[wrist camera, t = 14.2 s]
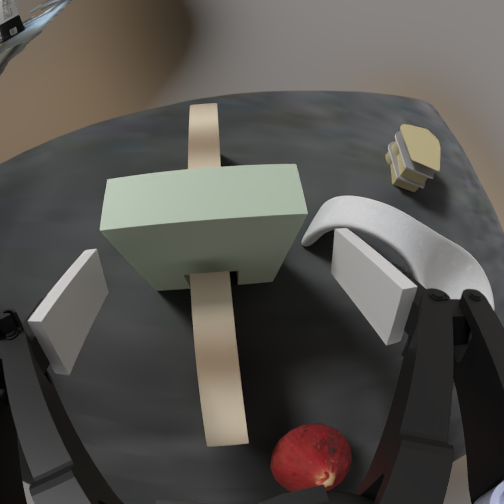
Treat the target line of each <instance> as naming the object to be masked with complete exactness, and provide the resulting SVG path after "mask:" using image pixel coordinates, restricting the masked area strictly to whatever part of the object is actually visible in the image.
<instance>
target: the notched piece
mask: <svg viewBox="0 0 504 504" xmlns="http://www.w3.org/2000/svg"><path fill="white" fill-rule="evenodd" d="M307 214H308V212H307V208H306V203H305V199H304V195H303V190H302V186H301V182H300V178H299V174H298V170H297V166H296V164H269V165H243V166H225V167H210V168H198V169H187V170H177V171H167V172H158V173H150V174H142V175H135V176H128V177H121V178H114V179H108V180H107V185H106V191H105V197H104V203H103V210H102V217H101V224H100V231H101V232H102V234H103V235H104V236H105V237H106V238H107V239H108V240H109V241H110V243H111V244H112V245H113V246H114V247H115V248H116V249H117V250H118V251H119V252H120V253H121V254H122V256H123V257H124V258H125V259H126V260H127V261H128V262H129V263H130V264H131V265H132V266H133V267H134V268H135V269H136V270H137V271H138V272H139V273H140V274H141V275H142V276H143V277H144V278H145V279H146V280H147V281H148V282H149V283H150V284H151V285H152V286H153V287H154V288H155V289H156V290H157V291H163V290H178V289H191V288H190V274H198V273H211V272H223V271H236V272H237V282H238V285H243V284H254V283H265V282H273V280H274V278H275V276H276V275H277V273H278V271H279V269H280V267H281V265H282V263H283V261H284V259H285V257H286V255H287V253H288V252H289V250H290V248H291V246H292V244H293V242H294V240H295V238H296V236H297V234H298V232H299V230H300V228H301V226H302V224H303V222H304V220H305V218H306V216H307Z"/></svg>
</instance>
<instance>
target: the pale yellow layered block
mask: <svg viewBox="0 0 504 504" xmlns="http://www.w3.org/2000/svg"><path fill="white" fill-rule="evenodd" d="M400 129H401V131H399V132H397V133H396V135H395V139H396V141H395V142H391V143H390V144H389V146H388V150H389V151H388V153H387V154H386V161H387V162H388V163H389V165H390V166H391V174H392V184H393V185H395V186H398V187H401V188H404V189H406V190H409V191H412V192H416V190H417V189H418V188H419V187H420V188H424V187H425V181H426V180H427V179H428V178H431V179H433V178H434V169H435V170H437V171H439V170H440V144H439V141H438V139H437V138H436V137H435V136H434V135H433V134H432V133H431V132H430V131H428V130H427V129H424V128H420V127H416V126H412V125H407V124H403V125H401V127H400Z"/></svg>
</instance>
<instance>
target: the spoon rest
mask: <svg viewBox="0 0 504 504" xmlns="http://www.w3.org/2000/svg"><path fill="white" fill-rule="evenodd" d="M340 228H347V229H349V230H354V231H358V232H361V233H364V234H367V235H369V236H372V237H374V238H376V239H378V240H380V241H382V242H384V243H386V244H387V245H388V246H390V247H391V248H393V249H394V250H395V251H396V252H397V253H399V254H400V255H401V257H402V258H403V259H404V260H405V262H406V263H407V265H408V266H409V268H410V270H411V272H412V274H413V277H414V279H415V280H416V281H418V282H419V283H420V284H421V285H422V286H423V287H425V288H426V289H429V288H434V289H439V290H442V291H443V292H445V293H447V294H448V295H449V297H450V299H460V298H461V295H462V292H463V290H465V289H476V290H478V291H480V292H481V293H482V294H483V295H484V296H485V297H486V298H487V300H488V302H489V303H490V305H491V307H492V308H493V310H494V300H493V294H492V290H491V287H490V284H489V281H488V279H487V276H486V274H485V273H484V271H483V269H482V267H481V266H480V265H479V263H478V262H477V261H476V259H475V258H474V257H473V256H472V255H471V254H470V253H468V252H467V251H466V250H465V249H463V248H462V247H460V246H459V245H457V244H455V243H454V242H452V241H450V240H448V239H447V238H445V237H443V236H441V235H440V234H438V233H436V232H435V231H433V230H432V229H430V228H428V227H427V226H425V225H424V224H422V223H420V222H419V221H417V220H415V219H414V218H412V217H411V216H409V215H407V214H406V213H404V212H402V211H400V210H398V209H396V208H394V207H392V206H390V205H387V204H385V203H382V202H379V201H375V200H372V199H368V198H363V197H358V196H338V197H335V198H332V199H330V200H328V201H327V202H325V203H324V204H323V205H322V207H321V208H320V209H319V211H318V213H317V214H316V216H315V217H314V219H313V221H312V223H311V224H310V226H309V228H308V230H307V231H306V233H305V235H304V237H303V239H302V242H301V243H302V245H303V246H310V245H312V244H313V243H315V242H316V241H317V240H318V239H319V238H320V237H321V236H322V235H323V234H325V233H326V232H329V231H332V230H335V229H340Z"/></svg>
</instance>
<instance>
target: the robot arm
mask: <svg viewBox="0 0 504 504" xmlns="http://www.w3.org/2000/svg"><path fill="white" fill-rule="evenodd" d="M331 274H332V275H333V276H334V278H335V279H336V280H337V281H338V283H339V284H340V285H341V287H342V288H343V289H344V290H345V292H346V293H347V294H348V295H349V297H350V298H351V299H352V301H353V302H354V303H355V304H356V306H357V307H358V308H359V310H360V311H361V312H362V314H363V315H364V316H365V318H366V319H367V320H368V322H369V323H370V324H371V326H372V327H373V328H374V330H375V331H376V332H377V334H378V335H379V336H380V338H381V339H382V340H383V342H384V343H385V344H386V346H387V345H390V344H394V343H397V342H400V341H401V339H402V336H403V333H404V330H405V331H406V333H407V334H408V335H409V337H408V340H407V343H406V345H405V348H404V351H403V353H402V356H404V358H403V363H402V367H401V372H400V376H399V380H398V384H397V388H396V392H395V395H394V399H393V402H392V406H391V409H390V413H389V416H388V419H387V422H386V425H385V428H384V431H383V434H382V437H381V440H380V443H379V445H378V448H377V451H376V453H375V456H374V459H373V461H372V464H371V466H370V468H369V471H368V473H367V475H366V477H365V478H364V480H363V482H362V483H361V485H360V487H359V488H358V490H357V492H356V494H352V493H348V492H340V491H326V490H325V487H324V484H323V485H319V486H315V487H311V488H307V489H302V490H298V491H293V492H288V493H283V494H280V495H278V496H275V497H273V498H270V499H268V500H265V501H262V502H259V503H256V504H443V501H444V498H445V494H446V490H447V486H448V482H449V478H450V473H451V468H452V463H453V457H454V448H453V445H448V443H447V437H448V430H449V422H450V414H451V403H452V390H453V377H454V381H455V386H456V390H457V395H458V400H459V405H460V411H461V417H462V423H463V430H464V437H465V446H466V456H467V470H468V483H469V492H470V497H471V503H472V504H504V328H503V326H502V324H501V322H500V321H499V319H498V317H497V315H496V313H495V312H494V310H493V308H492V307H491V305H490V303H489V302H488V300H487V298H486V297H485V296H484V295H483V294H482V293H481V292H480V291H478V290H476V289H465V290H463V292H462V295H461V298H460V299H450V297H449V295H448V294H447V293H445V292H443V291H442V290H439V289H434V288H429V289H426V288H425V287H423V286H422V285H421V284H420V283H419V282H418V281H416V280H415V279H414V278H412V276H411V275H409V274H408V273H407V272H406V271H405V270H403V269H402V268H401V267H399V266H397V265H395V264H393V263H390V262H388V261H387V260H386V259H385V258H384V257H382V256H381V255H380V254H379V253H378V252H376V251H375V250H374V249H373V248H371V247H370V246H369V245H368V244H366V243H365V242H364V241H363V240H361V239H360V238H359V237H358V236H356V235H355V234H354V233H353V232H351V231H350V230H349V229H347V228H340V229H335V231H334V244H333V255H332V266H331ZM108 293H109V292H108V289H107V285H106V282H105V278H104V275H103V271H102V267H101V263H100V260H99V256H98V251H97V249H92V250H85V251H84V252H83V253H82V254H81V256H80V257H79V258H78V259H77V260H76V261H75V262H74V263H73V265H72V266H71V267H70V268H69V269H68V270H67V272H66V273H65V274H64V275H63V276H62V277H61V279H60V280H59V281H58V282H57V284H56V285H55V286H54V287H53V288H52V290H51V291H50V292H49V293H48V295H46V296H45V297H44V298H42V299H41V300H40V301H39V303H38V304H37V305H36V307H35V308H34V309H33V311H32V312H31V313H30V315H29V316H28V317H27V319H26V320H25V321H24V323H23V324H22V323H21V321H20V319H19V317H18V315H17V313H16V311H15V309H12V308H11V309H6V310H3V311H1V312H0V504H27V502H26V497H25V493H24V488H23V482H22V476H21V470H20V462H19V454H18V443H17V433H18V437H19V440H20V443H21V446H22V449H23V452H24V455H25V458H26V460H27V463H28V466H29V468H30V471H31V473H32V476H33V478H34V481H35V483H34V484H32V485H30V489H29V490H30V493H31V496H32V498H33V501H34V502H35V504H124V503H123V502H121V500H120V499H119V498H118V497H117V496H116V494H115V493H114V492H113V490H112V489H111V488H110V486H109V485H108V483H107V482H106V481H105V479H104V478H103V476H102V475H101V473H100V472H99V470H98V469H97V467H96V466H95V464H94V462H93V461H92V459H91V458H90V456H89V454H88V453H87V451H86V449H85V447H84V446H83V444H82V442H81V440H80V439H79V437H78V435H77V433H76V431H75V429H74V427H73V425H72V423H71V421H70V419H69V417H68V415H67V413H66V411H65V409H64V407H63V405H62V403H61V400H60V398H59V396H58V393H57V391H56V389H55V386H54V384H53V381H52V379H51V376H50V374H49V373H48V371H47V368H48V366H49V364H50V365H51V367H52V368H53V370H54V372H55V373H56V374H65V375H70V373H71V370H72V368H73V365H74V363H75V361H76V358H77V356H78V354H79V352H80V349H81V347H82V345H83V343H84V341H85V339H86V336H87V334H88V332H89V330H90V328H91V326H92V324H93V322H94V320H95V318H96V316H97V314H98V312H99V310H100V308H101V306H102V304H103V302H104V300H105V298H106V296H107V295H108ZM156 504H207V503H202V502H197V501H165V500H156Z"/></svg>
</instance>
